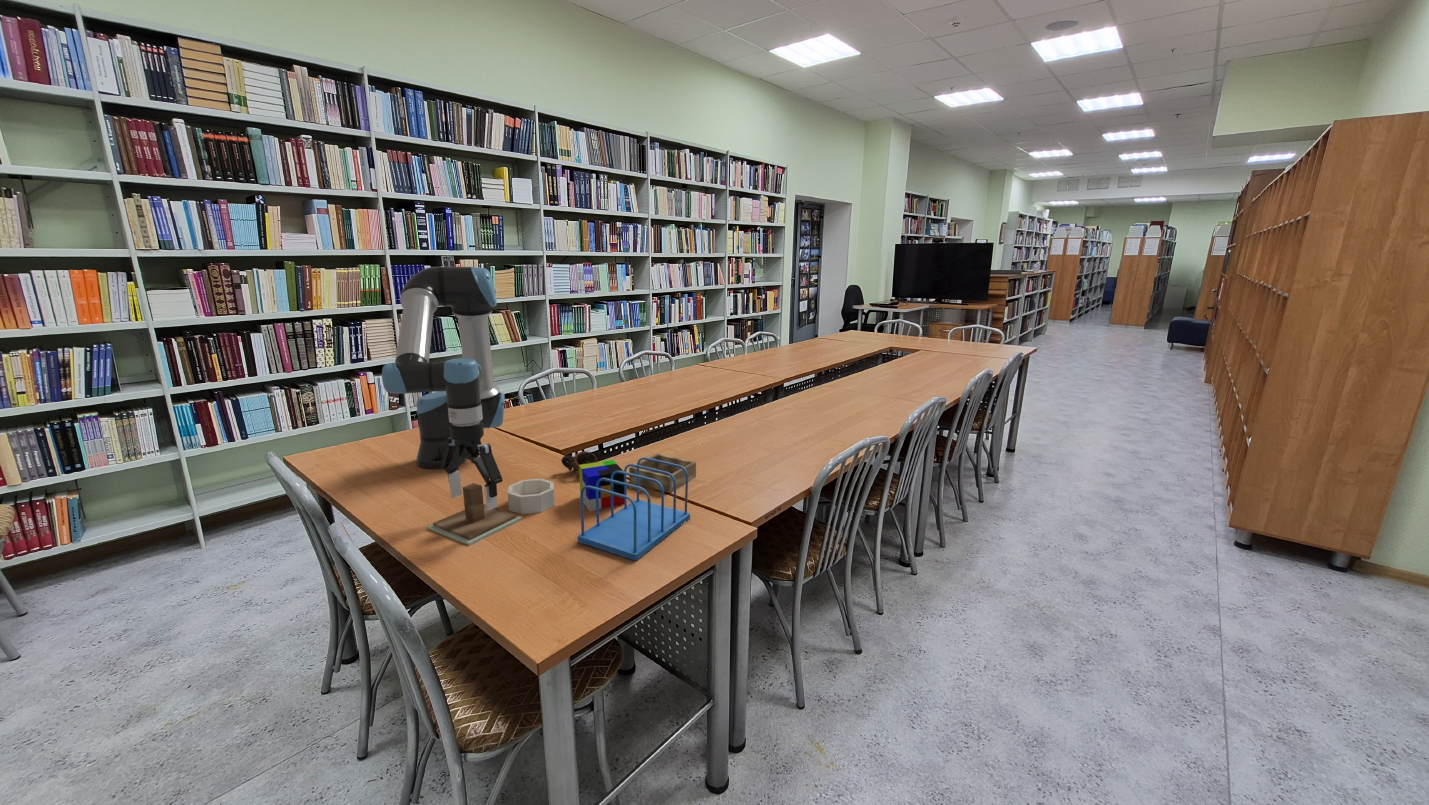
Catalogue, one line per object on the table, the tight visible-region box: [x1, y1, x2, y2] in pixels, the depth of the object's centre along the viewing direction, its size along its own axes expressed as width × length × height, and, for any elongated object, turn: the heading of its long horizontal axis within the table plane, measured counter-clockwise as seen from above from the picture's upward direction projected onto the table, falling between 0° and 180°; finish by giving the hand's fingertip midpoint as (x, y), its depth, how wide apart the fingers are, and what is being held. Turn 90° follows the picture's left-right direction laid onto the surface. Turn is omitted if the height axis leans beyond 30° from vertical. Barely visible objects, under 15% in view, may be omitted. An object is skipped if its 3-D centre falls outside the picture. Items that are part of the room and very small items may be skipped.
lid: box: [432, 482, 517, 540], centre depth 138 cm, size 14×14×10 cm
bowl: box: [507, 478, 556, 515], centre depth 151 cm, size 12×12×5 cm
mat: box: [426, 514, 523, 546], centre depth 139 cm, size 16×16×1 cm
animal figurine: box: [560, 451, 598, 479], centre depth 173 cm, size 12×10×8 cm
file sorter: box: [577, 456, 691, 561], centre depth 136 cm, size 25×17×15 cm
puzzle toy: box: [579, 459, 624, 512], centre depth 153 cm, size 10×10×10 cm
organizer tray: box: [628, 453, 697, 494], centre depth 170 cm, size 15×15×5 cm
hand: (473, 502), depth 138 cm, fingers open, 13 cm apart
